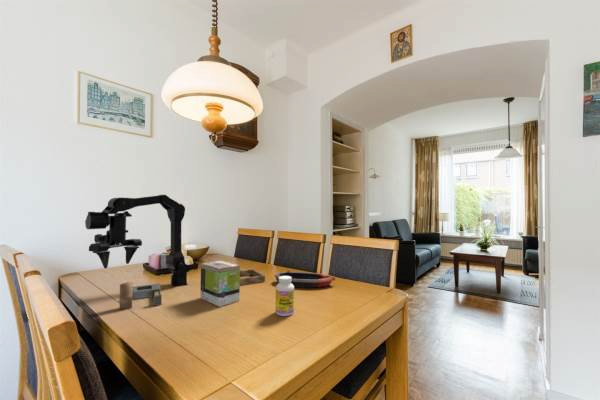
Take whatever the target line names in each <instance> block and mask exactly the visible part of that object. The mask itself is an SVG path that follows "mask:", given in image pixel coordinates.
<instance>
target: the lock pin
mask: <svg viewBox="0 0 600 400" xmlns="http://www.w3.org/2000/svg"><path fill="white" fill-rule="evenodd" d="M152 298H153V299H152V304H153V306H157V305H162V298H163V297H162V294H160V295H159V290H155V291H153V297H152Z"/></svg>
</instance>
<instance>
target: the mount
mask: <svg viewBox="0 0 600 400" xmlns="http://www.w3.org/2000/svg"><path fill="white" fill-rule="evenodd" d="M156 291H159V295H161V293H162V291H161V284H160V283H153V284H152V283H151V284H144V285H136V286H133V287H132V301H134V300H138V299H139V300H140V298H141V299H146V298H147V297H148V298H153V296H154V292H156Z"/></svg>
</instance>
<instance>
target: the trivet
mask: <svg viewBox="0 0 600 400" xmlns="http://www.w3.org/2000/svg"><path fill="white" fill-rule="evenodd" d="M247 275H249V276H251V277H249V276H247ZM246 276H247V277H246ZM241 277H244V278H241ZM264 281H265V282H266V276H265V275H264V274H262V273H261V272H259V271H257V270H255V269H254V268H251V269H243V270H240V286H244V285H245V284H246V285H252V283H253V284H258V282H259V283H264ZM246 285H245V286H246Z"/></svg>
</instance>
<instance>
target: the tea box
mask: <svg viewBox="0 0 600 400" xmlns="http://www.w3.org/2000/svg"><path fill="white" fill-rule="evenodd" d="M240 267H241V264H236V263H232V262H229V261H225V260H216V261H210V262H203V263H201V264H200V292H199V293H200V299H202V300H204V301H206V302H208V303H210V304H212V305H215V306H216V307H223V306H226V305H229V304H230V305H231V304H234V303H236V302H240V296H241V295H240V293H241V292H240V288H241V287H240V286H241V285H240V279H241V277H240V271H241V270H240V269H241V268H240Z"/></svg>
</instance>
